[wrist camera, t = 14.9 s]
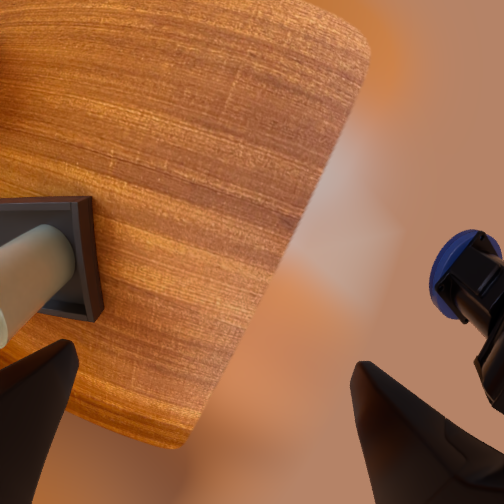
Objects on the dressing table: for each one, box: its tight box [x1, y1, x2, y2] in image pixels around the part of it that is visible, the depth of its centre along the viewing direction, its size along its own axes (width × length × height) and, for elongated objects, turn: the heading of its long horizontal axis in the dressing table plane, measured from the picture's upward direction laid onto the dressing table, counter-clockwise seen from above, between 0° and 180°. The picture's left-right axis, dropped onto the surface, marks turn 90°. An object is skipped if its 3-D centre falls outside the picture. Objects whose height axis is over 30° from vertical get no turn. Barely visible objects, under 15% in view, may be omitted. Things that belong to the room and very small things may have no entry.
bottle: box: [0, 224, 75, 349], centre depth 15 cm, size 5×5×13 cm
